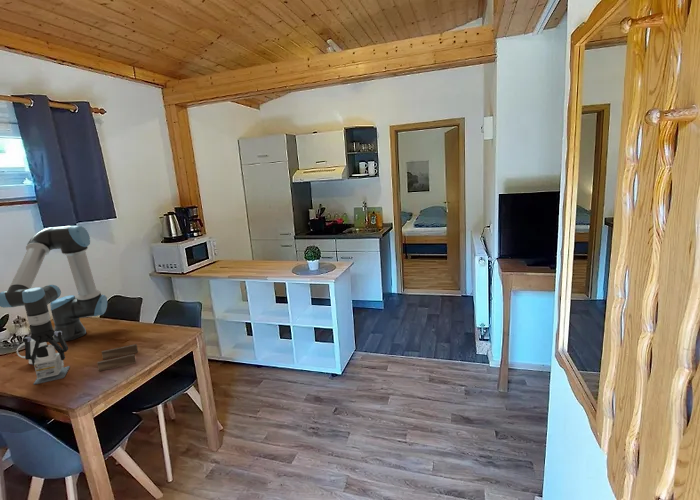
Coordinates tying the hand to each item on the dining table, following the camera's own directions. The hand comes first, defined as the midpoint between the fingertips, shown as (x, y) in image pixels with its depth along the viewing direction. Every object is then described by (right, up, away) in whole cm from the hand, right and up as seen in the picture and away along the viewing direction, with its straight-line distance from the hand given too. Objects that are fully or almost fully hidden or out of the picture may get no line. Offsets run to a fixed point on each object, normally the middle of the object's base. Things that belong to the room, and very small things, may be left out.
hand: (51, 369), depth 170 cm
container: (+1, -2, -1) cm, 2 cm away
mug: (-21, -1, +16) cm, 26 cm away
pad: (0, -3, +1) cm, 3 cm away
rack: (+24, 0, +12) cm, 27 cm away
